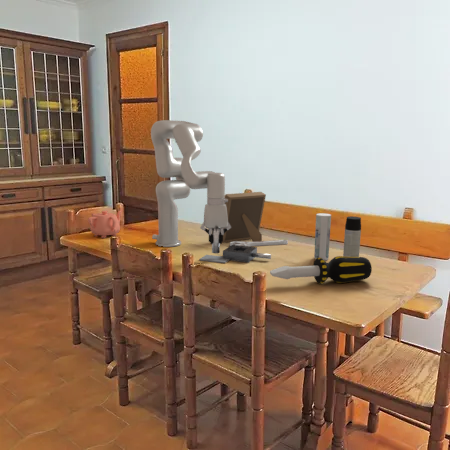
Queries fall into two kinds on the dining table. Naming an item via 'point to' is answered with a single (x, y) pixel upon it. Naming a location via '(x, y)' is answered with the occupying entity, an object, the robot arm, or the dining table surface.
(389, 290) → the dining table surface
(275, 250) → the dining table surface
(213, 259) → the mat
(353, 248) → the spray can
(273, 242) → the wrench
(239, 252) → the block
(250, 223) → the photo frame
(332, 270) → the screwdriver
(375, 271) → the dining table surface
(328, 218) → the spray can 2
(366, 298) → the dining table surface
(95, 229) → the teapot
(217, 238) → the key
